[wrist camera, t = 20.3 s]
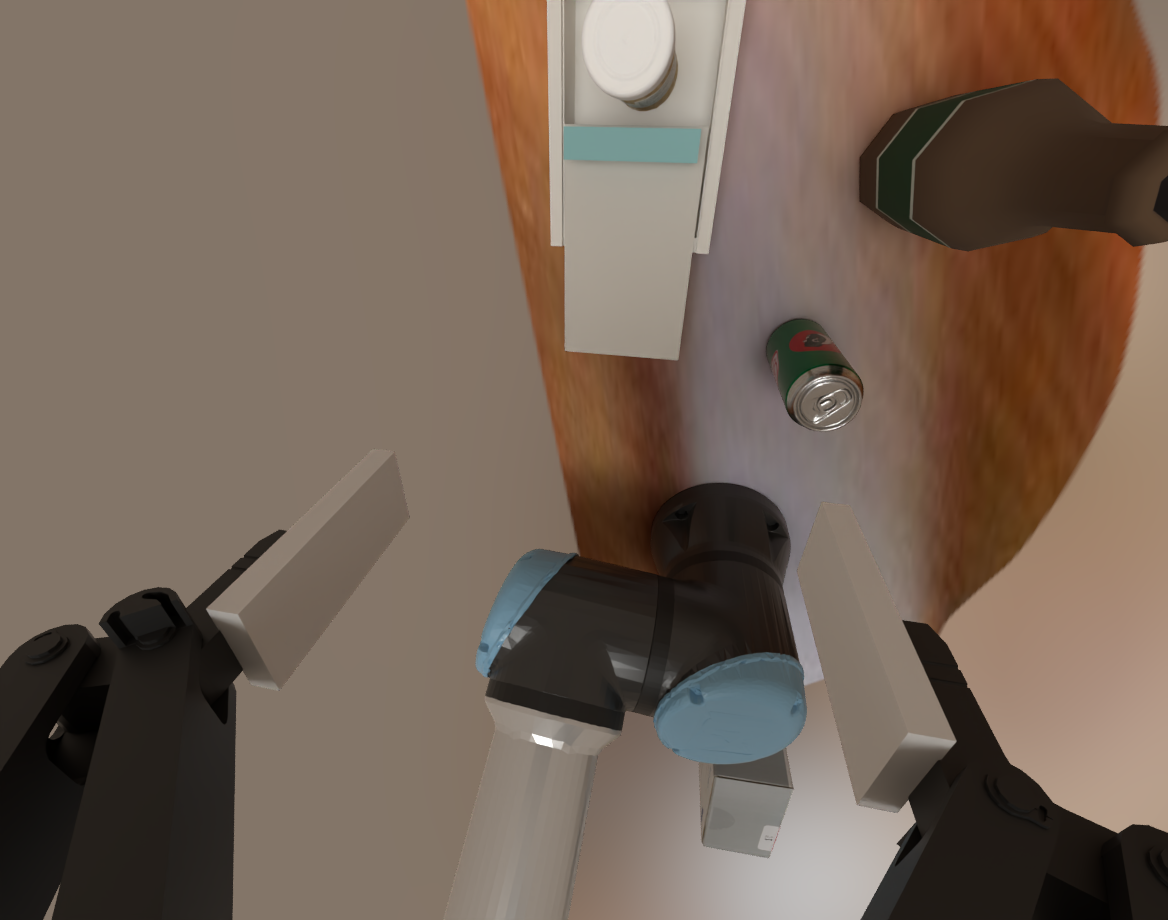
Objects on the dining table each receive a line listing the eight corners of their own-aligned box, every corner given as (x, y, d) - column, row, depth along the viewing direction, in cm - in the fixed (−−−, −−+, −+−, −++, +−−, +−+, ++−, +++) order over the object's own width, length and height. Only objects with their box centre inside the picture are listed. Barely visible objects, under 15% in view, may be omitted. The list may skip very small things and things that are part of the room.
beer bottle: (835, 215, 38) (999, 292, 18) (881, 90, 33) (1166, 6, 13) (940, 231, 37) (1232, 329, 17) (1000, 106, 33) (1486, 40, 13)
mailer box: (706, 243, 40) (708, 254, 36) (564, 236, 42) (550, 245, 38) (744, -24, 32) (753, -50, 27) (563, -20, 33) (546, -43, 29)
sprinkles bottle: (602, 61, 35) (561, 21, 23) (660, 13, 33) (645, -56, 21) (634, 127, 36) (609, 119, 25) (690, 85, 34) (691, 56, 23)
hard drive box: (750, 693, 70) (769, 860, 54) (695, 686, 72) (698, 847, 55) (766, 621, 62) (795, 793, 46) (705, 614, 64) (711, 779, 47)
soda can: (754, 338, 44) (774, 395, 34) (810, 305, 41) (849, 355, 31) (781, 382, 45) (807, 448, 35) (836, 352, 43) (881, 414, 33)
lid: (678, 356, 41) (677, 372, 38) (566, 347, 42) (558, 361, 40) (708, 127, 32) (710, 124, 30) (566, 124, 34) (555, 122, 31)
